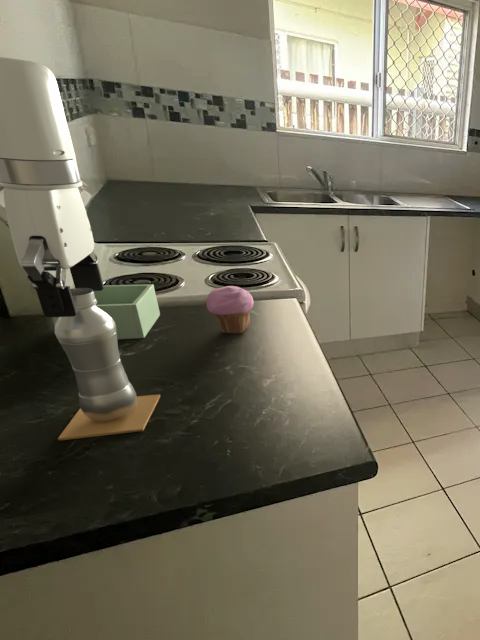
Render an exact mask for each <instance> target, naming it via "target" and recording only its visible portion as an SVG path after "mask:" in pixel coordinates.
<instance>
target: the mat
mask: <svg viewBox="0 0 480 640" xmlns="http://www.w3.org/2000/svg"><path fill="white" fill-rule="evenodd" d="M136 398H137V403H136V406H135V407H134V409H133V410H132V411H131V412H130V413H128V414H127V415H125V416H123V417H120V418H117V419H113V420H108V421H95V420H92V419H90V418H88V417H87V416H85V414H84V413H83V411H82V410H81V408H80V407H79V409H78V411H77V412H76V414H75V415H74V416H73V417H72V419H71V420H70V422H69V423H68V424H67V425H66V427H65V428H64V429H63V430H62V432H61V433H60V435H59V436H58V438H57V441H58V442H59V441H68V440H77V439H78V440H79V439H86V438H95V437H103V436H112V435H120V434H127V433H137V432H144V430H145V429H146V426H147V424H148V422H149V420H150V418H151V416H152V414H153V413H154V411H155V408H156V406H157V404H158V403H159V400H160V398H161V394H160V393H159V394H150V395H149V394H148V395H140V396H137V395H136Z"/></svg>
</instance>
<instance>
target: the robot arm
mask: <svg viewBox="0 0 480 640" xmlns="http://www.w3.org/2000/svg"><path fill="white" fill-rule="evenodd" d="M83 185H84V184H83V181H82V177H81V172H80V169H79V165H78V161H77V158H76V152H75V150H74V145H73V141H72V137H71V133H70V129H69V126H68V122H67V118H66V113H65V109H64V105H63V101H62V97H61V94H60V90H59V85H58V82H57V79H56V77H55V75H54V73H53V72H52V70H51V69H49V68H48V67H47V66H46V65H44V64H42V63H40V62H35V61H31V60H26V59H18V58H10V57H1V56H0V186H1V187H3V188H2V191H3V201H4V209H5V214H6V220H7V224H8V229H9V233H10V237H11V239H12V244H13V246H14V251H15V255H16V258H17V261H18V264H19V266H20V267H21V268H22V269H23V270H24V272H25V273H26V274H27V276H26V278H27V279H28V280H29V281H30V282H31V287H32V288H33V289H34V290H35V291H36V294H37V297H38V302H39V303H40V307H41V310H42V313H43V315H44V317H45V318H52V317H73V316H75V315H76V314H77V310H76V307H75V303H74V300H73V296H72V293H71V289H72V288H71V286H70V285H66V280H67V279H66V278H67V277H66V276H67V270H69V272H70V276H71V278H72V282H73V285H74V287H75V288H90V289H92V290H93V291H102V290H103V289H104V282H103V281H104V280H103V279H102V274H101V271H100V267H99V263H98V260H99V259H98V256H97V254H96V253H95V248H96V246H95V240H94V236H93V231H92V227H91V223H90V220H89V216H88V213H87V210H86V207H85V204H84V202H83V201H84V200H83V198H82V195H81V193H80V189H79V188H81V187H83ZM51 272H55V275H53V274H52V273H51Z"/></svg>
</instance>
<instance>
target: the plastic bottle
mask: <svg viewBox="0 0 480 640" xmlns="http://www.w3.org/2000/svg"><path fill="white" fill-rule="evenodd" d="M70 289H71V293H72V296H73V300H74V303H75V307H76V310H77V314H76V315H75V316H73V317H59V318H58V320H57V322H56V324H55V325H54V335H55V337H56V339H57V341H58V343H59V344H60V346H61V348H62V350H63V351H64V352H65V354H66V356H67V359H68V361H69V364H70V366H71V368H72V370H73V373H74V377H75V381H76V385H77V389H78V404H79V409H80V408H81V410H82V411H83V413H84V414H85V416H87V417H88V418H90V419H92V420H95V421H108V420H113V419H117V418H120V417H123V416H125V415H127V414H128V413H130V412H131V411H132V410H133V409H134V407H135V406H136V403H137V398H136V397H137V392H136V390H135V388H134V387H133V384H132V383H131V382H130V381H129V378H128V375H127V373H126V370H125V368H124V366H123V363H122V359H121V357H120V356H121V355H120V351H119V344H118V339H117V332H116V325H115V322H114V320H113V319H112V318H111V317H110V316H109V315H108V314H107V313H105V312H104V311H103V310H101V309H100V308H98V307H97V306H96V305H95V304H97V299H96V298H95V295H94V291H93V290H92V289H90V288H74V287H73V288H70Z"/></svg>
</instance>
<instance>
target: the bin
mask: <svg viewBox="0 0 480 640" xmlns="http://www.w3.org/2000/svg"><path fill="white" fill-rule="evenodd" d="M103 285H104V284H103ZM73 288H75V286H74V287H73ZM94 295H95V298H96V299H97V304H95V305H96V306H97V307H98V308H100V309H101V310H103V311H104V312H105V313H107V314H108V315H109V316H110V317H111V318H112V319H113V320H114V322H115V325H116V332H117V340H131V339H132V340H133V339H145V338H146V336H147V335H148V333H149V332H150V330H151V329H152V327H153V326H154V325H155V323H156V322H157V320H158V319H159V317H160V316H161V311H160V308H159V303H158V299H157V295H156V289H155V285H154V283H152V284H151V283H149V284H147V283H146V284H113V285H112V284H108V285H104V289H103V290H102V291H94ZM58 318H59V317H51V319H52V322H53V325H54V326H55V324H56V322H57V320H58Z"/></svg>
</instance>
